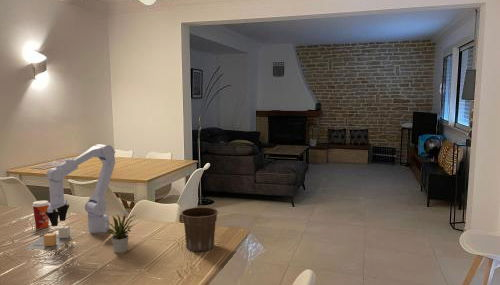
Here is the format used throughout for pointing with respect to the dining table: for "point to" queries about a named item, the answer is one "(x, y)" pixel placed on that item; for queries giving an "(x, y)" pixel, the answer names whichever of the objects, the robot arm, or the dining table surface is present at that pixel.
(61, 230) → the grey fader
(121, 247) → the house plant
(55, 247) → the console
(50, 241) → the orange fader
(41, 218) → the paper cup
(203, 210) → the plant pot
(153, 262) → the dining table surface
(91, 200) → the robot arm
